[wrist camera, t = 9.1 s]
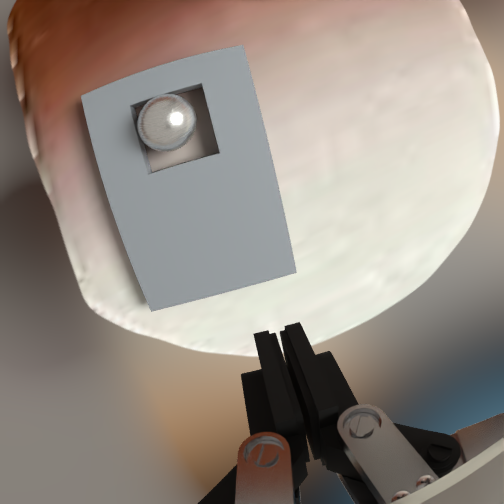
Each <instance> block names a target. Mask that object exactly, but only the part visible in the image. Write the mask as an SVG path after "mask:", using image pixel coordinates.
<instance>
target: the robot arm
mask: <svg viewBox="0 0 504 504" xmlns="http://www.w3.org/2000/svg"><path fill="white" fill-rule="evenodd" d="M280 336H281V341H282V346H283V351H284V356H285V360H284V357H283V354H282V351H281V348H280V345H279V342H278V339H277V336H276V333H272V334H269V331H268V330H267V331H263V332H259V333H255V334H254V338H255V343H256V347H257V351H258V356H259V360H260V364H261V368H262V369H260V370H256V371H252V372H247V373H243V374H241V379H242V385H243V391H244V398H245V405H246V411H247V417H248V423H249V429H250V435H251V436H250V437H248V438H247V439H246V440H245V441H243V443H242V444H241V446H240V448H239V451H238V459H237V465H236V466H235V467H234V468H233V469H232V470H231V471H230V472H229V473H228V474H227V475H226V476H225V477H224V478H223V479H222V480H221V481H220V482H219V483H218V484H217V485H216V486H215V487H214V488H213V489H212V490H211V491H210V492H209V493H208V494H207V495H206V496H205V497H204V498H203V499H202V500H201V501H200V502H199V503H198V504H301V498H300V487H299V486H300V485H301V483H302V482H303V481H304V479H305V478H306V477H307V475H308V474H307V468H306V462H310V459H309V452H308V446H307V439H308V442H309V445H310V448H311V451H312V454H313V457H314V460H317V459H321V462H322V465H326V468H327V470H330V471H333V472H335V473H337V474H338V477H339V479H340V480H341V482H342V483H343V485H344V487H345V488H346V490H347V492H348V493H349V495H350V497H351V498H352V500H353V501H354V503H355V504H504V413H501V414H499V415H496V416H493V417H491V418H489V419H486V420H484V421H481V422H479V423H476V424H473V425H471V426H468V427H465V428H463V429H460V430H457V431H456V433H454V434H452V435H447V434H444V433H438V432H433V431H428V430H423V429H418V428H413V427H409V426H404V425H400V424H396V423H392V422H391V421H390V419H389V418H388V417H387V416H386V414H385V413H384V412H383V411H382V410H381V409H379V408H378V407H375V406H373V405H368V404H361V405H359V404H358V402H357V400H356V398H355V397H354V395H353V393H352V391H351V389H350V387H349V385H348V383H347V381H346V379H345V378H344V376H343V374H342V372H341V370H340V368H339V366H338V364H337V362H336V361H335V359H334V357H333V355H332V353H331V352H330V351H327V352H324V353H320V354H317V355H315V354H314V351H313V349H312V347H311V345H310V343H309V341H308V338H307V336H306V334H305V332H304V330H303V328H302V326H301V324H300V322H298V323H295V324H291V325H287V326H285V330H284V331H280ZM285 361H286V363H285ZM306 436H307V439H306Z"/></svg>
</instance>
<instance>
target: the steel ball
mask: <svg viewBox="0 0 504 504" xmlns="http://www.w3.org/2000/svg"><path fill="white" fill-rule="evenodd" d="M196 124H197V118H196V113H195V111H194V108H193V107H192V105H191V104H190V103H189V102H188V101H187V100H186V99H184V98H183V97H181V96H178V95H174V94H163V95H159V96H156V97H154V98H153V99H151V100H150V101H148V102H147V103H146V104H145V105H144V107H143V108H142V110H141V112H140V114H139V117H138V122H137V127H138V132H139V135H140V137H141V139H142V140H143V142H144V143H145V144H146V145H147V146H149V147H150V148H152V149H154V150H157V151H161V152H169V151H174V150H177V149H179V148H181V147H183V146H184V145H185V144H186V143H188V141H189V140H190V139H191V138H192V136H193V134H194V132H195V129H196Z"/></svg>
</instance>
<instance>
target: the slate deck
mask: <svg viewBox="0 0 504 504" xmlns="http://www.w3.org/2000/svg"><path fill="white" fill-rule="evenodd" d="M201 87H203V91H204V95H205V99H206V103H207V107H208V111H209V114H210V118H211V122H212V126H213V130H214V134H215V138H216V141H217V145H218V149H219V153H217V154H213V155H209V156H206V157H202V158H199V159H195V160H192V161H188V162H185V163H181V164H178V165H175V166H172V167H168V168H165V169H162V170H159V171H156V172H153V173H152V170H151V167H150V163H149V160H148V156H147V153H146V149H145V145H144V142H143V140H142V139H141V137H140V135H139V132H138V127H137V122H138V119H137V115H136V111H135V108H137V107H139V106H142V105H145V104H146V103H147V102H148V101H150V100H151V99H153V98H154V97H156V96H159V95H163V94H174V95H176V94H180V93H183V92H187V91H190V90H194V89H198V88H201ZM81 98H82V103H83V108H84V112H85V117H86V121H87V125H88V130H89V134H90V138H91V142H92V145H93V149H94V153H95V157H96V160H97V164H98V167H99V171H100V174H101V178H102V181H103V184H104V188H105V191H106V194H107V197H108V200H109V203H110V206H111V209H112V212H113V215H114V218H115V221H116V224H117V227H118V230H119V233H120V235H121V238H122V241H123V243H124V246H125V249H126V252H127V254H128V257H129V259H130V262H131V264H132V267H133V269H134V272H135V274H136V277H137V279H138V282H139V284H140V287H141V289H142V291H143V294H144V296H145V298H146V301H147V303H148V305H149V308H150V310H151V312H152V311H156V310H160V309H164V308H168V307H172V306H176V305H180V304H183V303H187V302H191V301H195V300H199V299H203V298H207V297H210V296H214V295H218V294H222V293H225V292H229V291H233V290H237V289H240V288H244V287H248V286H251V285H255V284H258V283H262V282H266V281H269V280H273V279H276V278H280V277H283V276H287V275H290V274H294V273H297V272H296V267H295V262H294V257H293V252H292V247H291V242H290V237H289V232H288V228H287V223H286V218H285V213H284V209H283V204H282V200H281V195H280V191H279V186H278V182H277V177H276V173H275V169H274V164H273V160H272V156H271V151H270V147H269V143H268V139H267V135H266V131H265V127H264V123H263V119H262V115H261V111H260V107H259V103H258V99H257V95H256V91H255V87H254V83H253V80H252V76H251V72H250V68H249V65H248V61H247V57H246V54H245V50H244V46H243V45H240V46H235V47H230V48H225V49H220V50H216V51H211V52H207V53H203V54H199V55H195V56H191V57H187V58H183V59H180V60H176V61H173V62H169V63H166V64H163V65H160V66H157V67H154V68H150V69H147V70H145V71H142V72H139V73H136V74H133V75H130V76H128V77H125V78H122V79H120V80H117V81H115V82H112V83H110V84H107V85H105V86H103V87H100V88H98V89H96V90H93V91H91V92H89V93H87V94H84V95H82V96H81Z"/></svg>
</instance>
